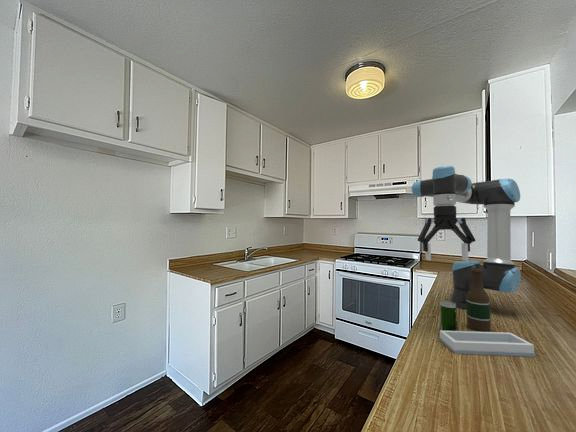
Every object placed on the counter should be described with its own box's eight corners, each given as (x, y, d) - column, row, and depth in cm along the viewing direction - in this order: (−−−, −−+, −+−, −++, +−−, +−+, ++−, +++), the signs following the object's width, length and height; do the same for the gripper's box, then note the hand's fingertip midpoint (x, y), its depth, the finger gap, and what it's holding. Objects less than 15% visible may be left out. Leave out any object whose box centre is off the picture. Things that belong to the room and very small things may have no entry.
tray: (439, 339, 91) (439, 330, 91) (510, 342, 88) (509, 332, 89) (454, 353, 81) (454, 342, 81) (535, 356, 78) (534, 345, 79)
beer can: (443, 336, 93) (442, 304, 94) (439, 330, 99) (438, 300, 99) (460, 338, 92) (458, 305, 92) (455, 332, 97) (453, 301, 97)
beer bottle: (487, 326, 103) (485, 268, 104) (494, 333, 95) (491, 271, 97) (465, 323, 106) (462, 267, 107) (469, 330, 99) (467, 269, 100)
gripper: (415, 205, 95) (417, 261, 94) (485, 204, 92) (487, 261, 91) (407, 207, 102) (409, 258, 101) (472, 206, 100) (474, 259, 99)
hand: (446, 260), depth 96 cm, fingers open, 13 cm apart
